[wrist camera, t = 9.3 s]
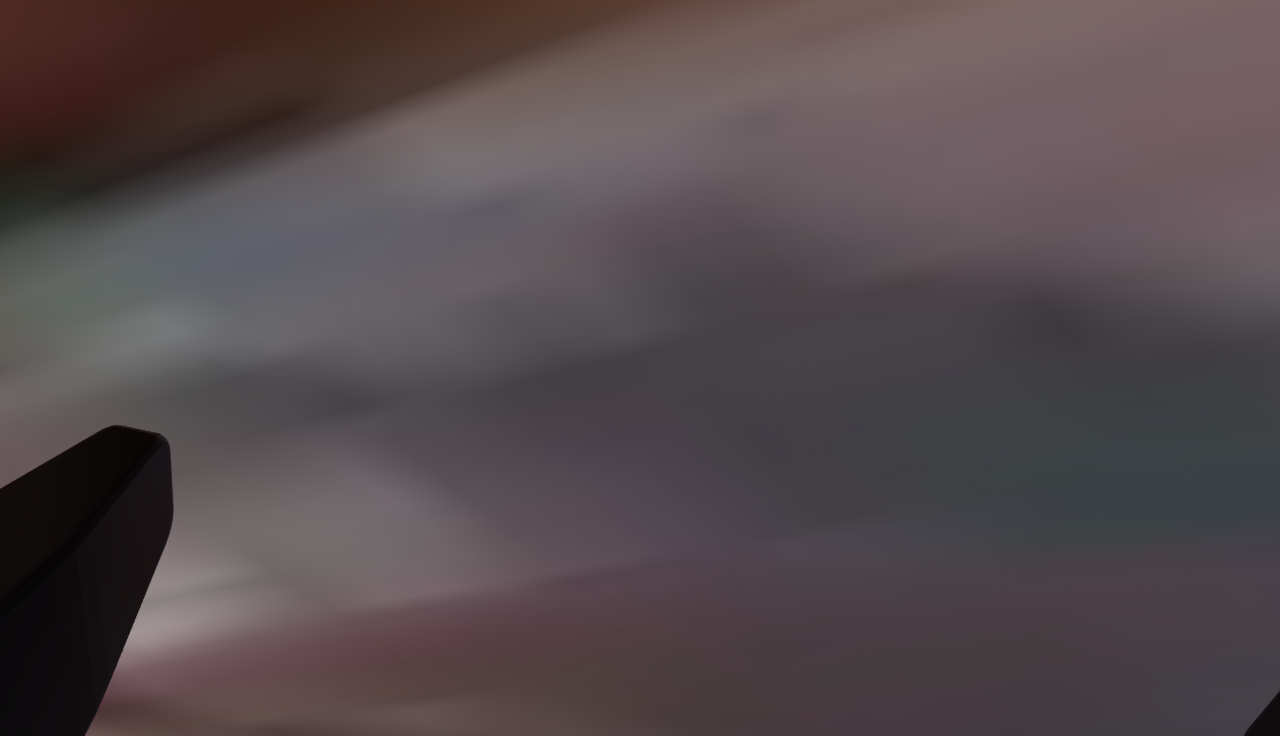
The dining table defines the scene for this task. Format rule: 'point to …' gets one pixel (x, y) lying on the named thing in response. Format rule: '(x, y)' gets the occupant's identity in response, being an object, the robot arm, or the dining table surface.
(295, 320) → the dining table surface
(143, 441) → the robot arm
